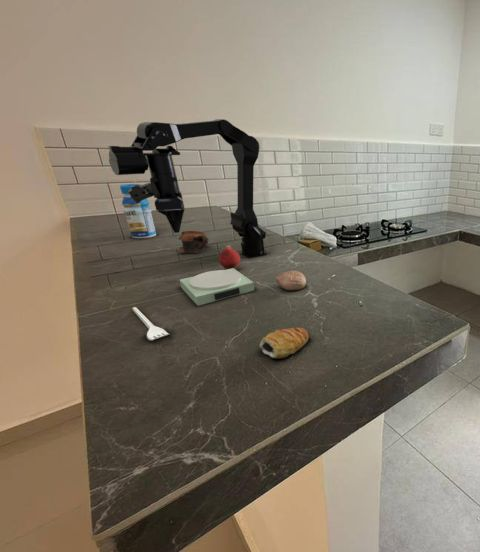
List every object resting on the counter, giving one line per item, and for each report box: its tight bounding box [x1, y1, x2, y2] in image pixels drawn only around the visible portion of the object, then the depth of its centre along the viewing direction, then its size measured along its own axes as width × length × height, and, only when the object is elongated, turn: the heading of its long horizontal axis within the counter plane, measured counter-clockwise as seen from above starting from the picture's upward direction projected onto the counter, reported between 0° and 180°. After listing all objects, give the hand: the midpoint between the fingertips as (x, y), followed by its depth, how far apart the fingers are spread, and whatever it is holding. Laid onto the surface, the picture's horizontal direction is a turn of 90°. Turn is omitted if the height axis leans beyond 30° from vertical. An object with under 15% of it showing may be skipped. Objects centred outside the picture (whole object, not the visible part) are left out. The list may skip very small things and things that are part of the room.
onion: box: [218, 245, 241, 270], centre depth 100 cm, size 6×6×8 cm
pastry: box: [259, 327, 310, 359], centre depth 65 cm, size 9×7×4 cm
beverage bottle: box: [119, 183, 157, 239], centre depth 126 cm, size 8×8×20 cm
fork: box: [132, 306, 170, 341], centre depth 70 cm, size 3×20×2 cm, turn 51°
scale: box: [179, 268, 255, 306], centre depth 88 cm, size 14×14×3 cm
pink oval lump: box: [275, 269, 307, 292], centre depth 92 cm, size 8×6×8 cm
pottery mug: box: [178, 230, 209, 254], centre depth 117 cm, size 12×10×8 cm
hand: (176, 228), depth 94 cm, fingers open, 9 cm apart
